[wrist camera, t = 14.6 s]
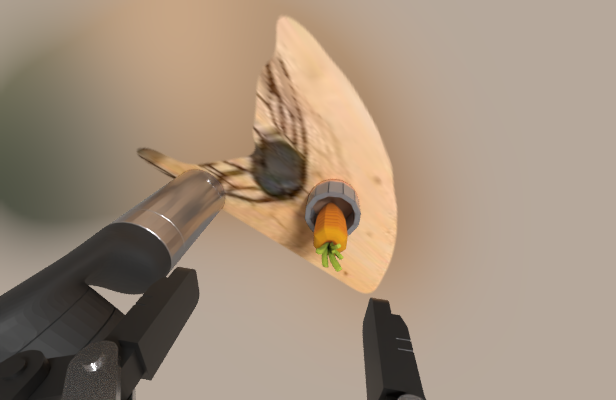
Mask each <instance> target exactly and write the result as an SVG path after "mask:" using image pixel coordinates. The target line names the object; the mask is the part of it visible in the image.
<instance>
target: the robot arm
mask: <svg viewBox="0 0 616 400" xmlns="http://www.w3.org/2000/svg"><path fill="white" fill-rule="evenodd" d="M224 203H225V193H224V189H223V187H222V185H221V184H220V183H219V181H218V180H217V179H216V178H215V177H214V176H212V175H211V174H209V173H207V172H205V171H201V170H188V171H186V172H184V173H182V174H181V175H179V176H178V177H176V178H175V179H174V180H172V181H171V182H169V183H168V184H166V185H165V186H163V187H162V188H161V189H159V190H158V191H156V192H155V193H153V194H152V195H150V196H149V197H148V198H146V199H145V200H144V201H142V202H140V203H139V204H138V205H136V206H135V207H133V208H132V209H130V210H129V211H128V212H126V213H125V214H123V215H122V216H121V217H119V218H118V219H116V220H115V221H113V222H112V223H111V224H109V225H108V226H106V227H104V228H103V229H102V230H100V231H99V232H98V233H96V234H95V235H93V236H92V237H91V238H89V239H88V240H87V241H85V242H84V243H83V244H81V245H80V246H78V247H77V248H76V249H74V250H73V251H71V252H70V253H69V254H67V255H65V256H64V257H62V258H61V259H59V260H58V261H56V262H54V263H53V264H51V265H50V266H48V267H46V268H45V269H43V270H42V271H40V272H38V273H37V274H35V275H34V276H32V277H30V278H29V279H27V280H26V281H24V282H22V283H21V284H19V285H17V286H16V287H14V288H13V289H11V290H9V291H8V292H6V293H4V294H3V295H1V296H0V400H136V399H135V387H136V385H137V384H138V382H139V381H140V379H146V380H152V378H153V376H154V375H155V373H156V372H157V370H158V368H159V366H160V365H161V363H162V362H163V360H164V358H165V357H166V355H167V353H168V351H169V350H170V348H171V347H172V345H173V343H174V342H175V340H176V338H177V337H178V335H179V333H180V331H181V330H182V328H183V327H184V325H185V323H186V322H187V320H188V319H189V317H190V315H191V314H192V312H193V310H194V309H195V307H196V305H197V303H198V299H199V287H198V280H197V274H196V271H195V270H194V269H188V268H182V267H177V268H176V269H175V270H174V271H173V272H172V274H171V275H170V276H169V277H168V278H167V277H166V276H167V274H168V273H169V272H170V271H171V270H172V268H173V267H174V266H175V265H176V263H177V262H178V261H179V260H180V259H181V257H182V256H183V255H184V254H185V252H186V251H187V250H188V249H189V248H190V246H191V245H192V244H193V243H194V241H195V240H196V239H197V238H198V237H199V235H200V234H201V233H202V232H203V230H204V229H205V228H206V227H207V226H208V224H209V223H210V222H211V221H212V220H213V218H214V217H215V216H216V215H217V213H218V212H219V211H220V210H221V208H222V207H223V205H224ZM88 285H93V286H99V287H103V288H107V289H110V290H113V291H116V292H120V293H125V294H143V293H144V294H143V296H142V297H141V298H140V299H139V300H138V301H137V302H136V305H134V306H133V307H132V308H131V309H130V310H129V311H128V313H127V314H126V315H124V314H123V313H122V312H121V311H119V310H118V309H117V308H116V307H114V306H113V305H112V304H111V303H110V302H108V301H107V300H106V299H105V298H103V297H102V296H101V295H99V294H98V293H97V292H96V291H95V290H93V289H92V288H91V287H89V286H88ZM363 347H364V361H365V374H366V388H367V400H426V399H425V396H424V393H423V389H422V384H421V380H420V376H419V372H418V369H417V364H416V360H415V356H414V353H413V348H412V344H411V342H410V336H409V331H408V328H407V326H406V324H405V322H404V321H403V319H402V318H401V316H400V315H394V314H391V310H390V305H389V301H388V300H382V299H376V298H370V300H369V304H368V307H367V310H366V314H365V317H364V321H363Z"/></svg>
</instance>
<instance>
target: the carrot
mask: <svg viewBox="0 0 616 400" xmlns="http://www.w3.org/2000/svg"><path fill="white" fill-rule="evenodd" d="M347 236H348V234H347V226H346V220H345V218H344V215H343V213H342V211H341V210H340V209H339V208H338V207H337V206H336V205H335V204H334V203H328V204H326V205H325V206H324V207H323V208H322V209H321V210H320V212H319V214H318V216H317V219H316V224H315V230H314V247H315V248H316V253H317V254H322V265H323V266H324V267H328V258H327V255H329V258H330V261H331V263H332V265H333V267H334V268H335V270H336V271H337V272H338V271H340V270H341V269H342V268H341V266H340V264H339V263H338V261H337V260H336V258H335V256H334V255H336V256H337V257H338V258H339V260H340V259H343V256H342V255H341V254H340V252H342V251H343V250H345V249H346V244H347Z"/></svg>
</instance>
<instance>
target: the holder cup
mask: <svg viewBox="0 0 616 400" xmlns="http://www.w3.org/2000/svg"><path fill="white" fill-rule="evenodd" d="M328 203H334V204H335V205H336V206H337V207H338V208H339V209H340V210H341V211H342V213H343V215H344V218H345V220H346V226H347V234H348V235H350V234H351V233H352V232H353V231H354V230H355V229H356V228H357V227H358V225H359V221H360V215H361V212H360V205H359V200H358V196H357V193H356V192H355V190H354V189H353V187H352V186H351V185H349V184H348V183H346V182H344V181H342V180H337V179H329V180H325V181H322V182H320V183H318V184H317V185H316V186H315V187H314V188H313V189H312V191H311V193H310V195H309V197H308V201H307V205H306V214H305V220H306V222H307V224H308V226H309V227H310V229H311V230H312V231H313V232H314V230H315V224H316V219H317V216H318V214H319V212H320V210H321V209H322V208H323V207H324V206H325V205H326V204H328Z"/></svg>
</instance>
